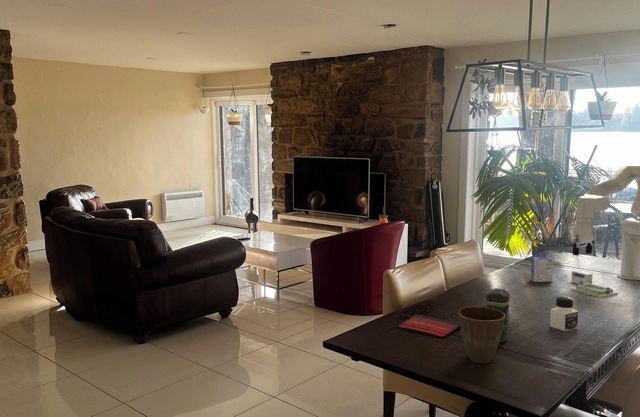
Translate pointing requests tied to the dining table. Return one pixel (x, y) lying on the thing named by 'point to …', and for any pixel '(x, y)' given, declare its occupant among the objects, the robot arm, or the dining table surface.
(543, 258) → the ink cartridge box
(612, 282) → the dining table surface
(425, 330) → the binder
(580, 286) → the tray
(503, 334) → the coffee jar
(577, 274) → the block
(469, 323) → the plant pot
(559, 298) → the medicine bottle
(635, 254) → the robot arm
